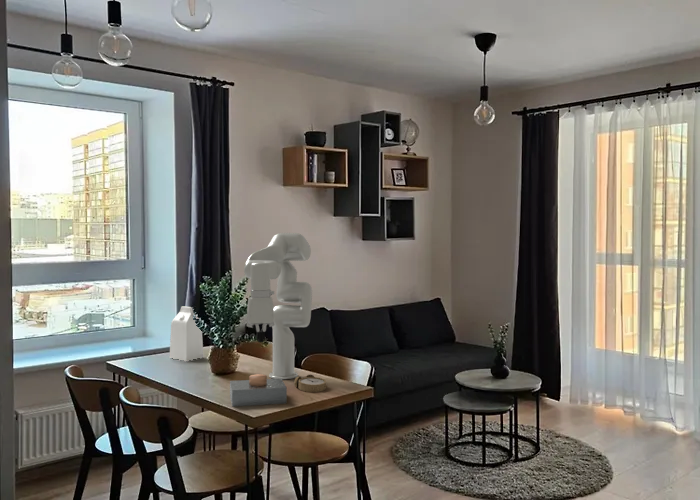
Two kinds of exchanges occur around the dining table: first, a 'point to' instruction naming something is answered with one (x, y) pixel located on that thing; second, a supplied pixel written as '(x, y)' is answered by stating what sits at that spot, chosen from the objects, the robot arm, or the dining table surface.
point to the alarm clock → (310, 383)
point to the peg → (257, 380)
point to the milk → (185, 336)
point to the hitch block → (258, 393)
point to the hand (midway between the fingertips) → (260, 341)
